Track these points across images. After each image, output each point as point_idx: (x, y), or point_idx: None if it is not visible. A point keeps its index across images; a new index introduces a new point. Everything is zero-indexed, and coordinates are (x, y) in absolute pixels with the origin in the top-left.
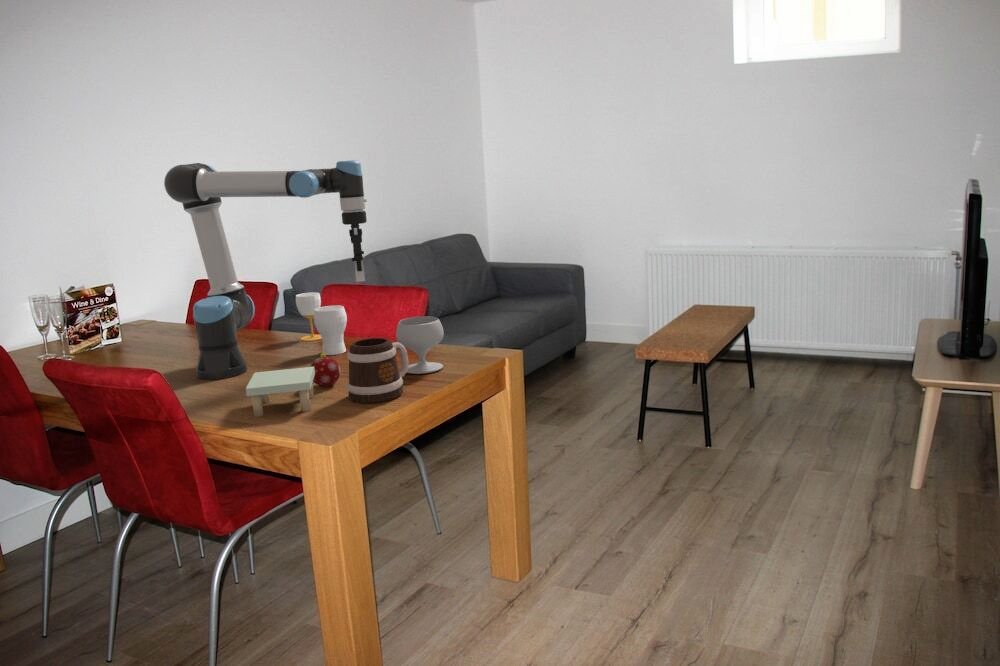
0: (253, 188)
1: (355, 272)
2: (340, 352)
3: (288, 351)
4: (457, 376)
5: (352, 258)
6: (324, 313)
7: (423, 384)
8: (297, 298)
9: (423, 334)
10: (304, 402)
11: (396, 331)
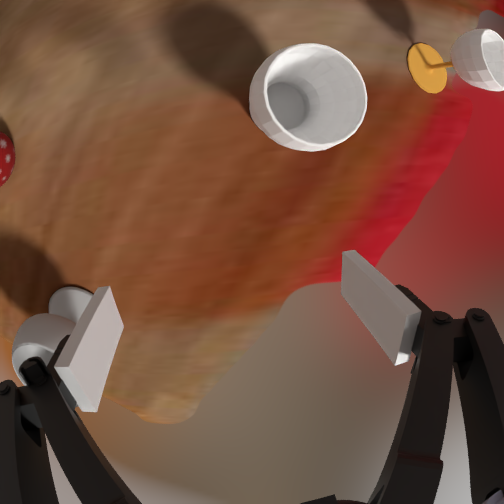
0: None
1: (81, 317)
2: (257, 124)
3: (327, 9)
4: None
5: (20, 374)
6: (260, 79)
7: (11, 316)
8: (480, 30)
9: None
10: None
11: (33, 325)
